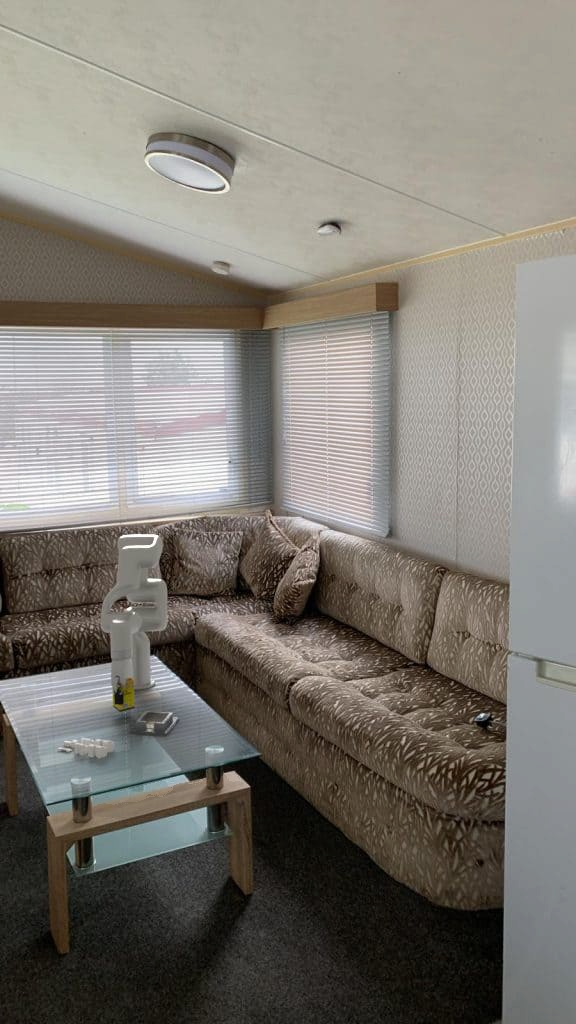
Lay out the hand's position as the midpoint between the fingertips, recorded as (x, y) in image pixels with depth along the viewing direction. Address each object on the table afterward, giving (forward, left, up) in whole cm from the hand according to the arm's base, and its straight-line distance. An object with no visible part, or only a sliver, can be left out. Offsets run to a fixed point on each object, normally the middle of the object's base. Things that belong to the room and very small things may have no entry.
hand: (123, 699), depth 305 cm
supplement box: (0, 0, -3) cm, 4 cm away
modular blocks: (+31, -2, -7) cm, 32 cm away
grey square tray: (+8, +14, -6) cm, 17 cm away
